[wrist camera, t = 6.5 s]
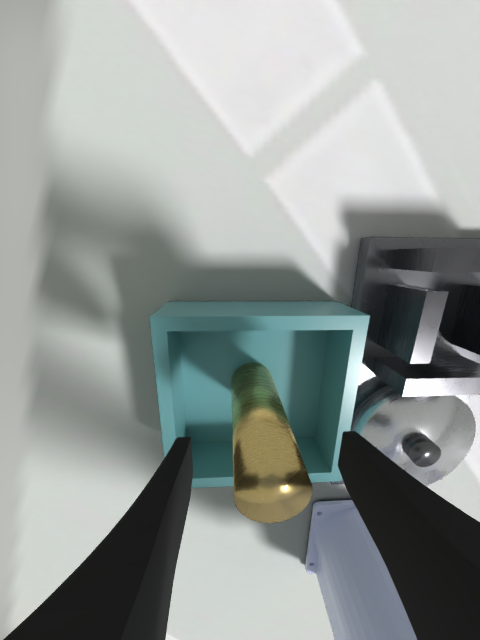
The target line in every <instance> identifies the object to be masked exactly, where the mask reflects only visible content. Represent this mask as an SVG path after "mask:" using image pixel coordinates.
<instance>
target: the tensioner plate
mask: <svg viewBox="0 0 480 640" xmlns="http://www.w3.org/2000/svg"><path fill="white" fill-rule="evenodd" d="M351 308H353V309H356V310H358V311H360V312H363V313H365V314H368V315H370V318H369V324H368V330H367V336H366V342H365V347H364V353H363V359H362V365H361V371H360V376H359V382H358V388H357V394H356V400H355V406H354V411H353V417H352V423H351V429H350V431H356V432H357V433H358V434H360V435H361V436H362V437H364V438H365V439H366V440H367V441H369V442H370V443H371V444H372V445H373V446H375V447H376V448H377V449H378V450H380V451H381V452H382V453H383V454H385V455H386V456H387V457H388V458H390V459H391V460H392V461H393V462H395V463H396V464H397V465H398V466H400V467H401V468H402V469H403V470H405V471H406V472H407V473H409V474H410V475H411V476H413V477H414V478H415V479H417V480H418V481H419V482H421V483H422V484H424V485H425V486H427V485H429V484H432V483H434V482H436V481H438V480H441V479H443V477H444V476H446V475H447V474H449V473H450V472H451V471H452V470H454V469H455V468H456V467H457V466H458V465H459V464H460V463H461V462H462V460H463V459H464V458H465V456H466V455H467V453H468V452H469V450H470V448H471V446H472V443H473V440H474V437H475V430H476V426H475V419H474V416H473V413H472V411H471V410H470V408H469V407H468V405H467V404H468V401H469V398H470V395H480V239H476V238H405V237H367V238H361V245H360V252H359V258H358V265H357V272H356V279H355V286H354V292H353V299H352V306H351ZM331 484H332V485H334V484H345V483H344V481H343V478H342V481H335V482H331Z"/></svg>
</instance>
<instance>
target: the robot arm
mask: <svg viewBox="0 0 480 640" xmlns="http://www.w3.org/2000/svg"><path fill="white" fill-rule="evenodd" d="M338 468H339V471H340V473H341V476H342V478H343V481H344V483H345V486H346V488H347V491H348V493H349V495H350V497H351V498H352V500H339V501H320V502H316V503H315V504H314V505H313V511H312V518H311V526H310V534H309V541H308V549H307V556H306V564H305V569H306V572H307V573H309V574H314V573H316V574H317V578H318V582H319V585H320V589H321V592H322V596H323V599H324V603H325V607H326V610H327V614H328V617H329V621H330V624H331V628H332V632H333V635H334V639H335V640H480V522H478V521H477V520H475V519H474V518H472V517H470V516H469V515H467V514H466V513H464V512H463V511H461V510H460V509H458V508H457V507H455V506H454V505H452V504H451V503H449V502H448V501H446V500H445V499H443V498H442V497H440V496H439V495H437V494H436V493H435V492H433V491H432V490H430V489H429V488H428V487H426V486H425V485H424V484H422V483H421V482H419V481H418V480H417V479H415V478H414V477H413V476H411V475H410V474H409V473H407V472H406V471H405V470H403V469H402V468H401V467H400V466H398V465H397V464H396V463H395V462H393V461H392V460H391V459H390V458H388V457H387V456H386V455H385V454H383V453H382V452H381V451H380V450H378V449H377V448H376V447H375V446H373V445H372V444H371V443H370V442H369V441H367V440H366V439H365V438H364V437H362V436H361V435H360V434H358V433H357V432H356V431H344V432H343V434H342V441H341V447H340V453H339V459H338ZM192 478H193V460H192V444H191V437H177V438H176V439H175V441H174V443H173V445H172V446H171V448H170V450H169V452H168V453H167V455H166V457H165V458H164V460H163V461H162V463H161V465H160V466H159V468H158V469H157V471H156V472H155V474H154V475H153V477H152V478H151V480H150V481H149V483H148V484H147V485H146V487H145V488H144V490H143V491H142V492H141V494H140V495H139V496H138V498H137V499H136V500H135V502H134V503H133V504H132V506H131V507H130V508H129V510H128V511H127V512H126V513H125V515H124V516H123V517H122V518H121V520H120V521H119V522H118V523H117V524H116V526H115V527H114V528H113V529H112V530H111V532H110V533H109V534H108V535H107V536H106V537H105V538H104V540H103V541H102V542H101V543H100V544H99V545H98V546H97V547H96V549H95V550H94V551H93V552H92V553H91V554H90V555H89V556H88V557H87V558H86V560H85V561H84V562H83V563H82V564H81V565H80V566H79V567H78V568H77V569H76V570H75V571H74V572H73V573H72V574H71V575H70V576H69V577H68V578H67V579H66V580H65V581H64V582H63V583H62V584H61V585H60V586H59V587H58V588H57V589H56V590H55V591H54V592H53V593H52V594H51V595H50V596H49V597H48V598H47V599H46V600H45V601H44V602H43V603H42V604H41V605H40V606H39V607H38V608H37V609H36V610H35V611H34V612H33V613H32V614H31V615H30V616H28V617H27V618H26V619H25V620H24V621H23V622H22V623H21V624H20V625H19V626H18V627H17V628H16V629H14V630H13V631H12V632H11V633H10V634H9V635H8V636H7V637H6V638H5V639H4V640H165V637H166V630H167V622H168V615H169V608H170V601H171V594H172V587H173V580H174V574H175V568H176V563H177V558H178V553H179V549H180V544H181V539H182V534H183V530H184V525H185V520H186V515H187V511H188V506H189V501H190V495H191V486H192Z"/></svg>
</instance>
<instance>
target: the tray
mask: <svg viewBox="0 0 480 640" xmlns="http://www.w3.org/2000/svg"><path fill="white" fill-rule="evenodd" d="M149 318H150V327H151V337H152V346H153V356H154V365H155V375H156V385H157V394H158V404H159V413H160V423H161V433H162V442H163V452H164V458H165V457H166V455H167V453H168V452H169V450H170V448H171V446H172V445H173V443H174V441H175V439H176V438H177V437H191V444H192V460H193V478H192V486H191V488H206V487H227V486H234V475H233V439H232V404H231V378H232V375H233V373H234V372H235V370H236V369H237V368H239V367H240V366H242V365H244V364H247V363H259V364H261V365H263V366H265V367H266V368H267V369H268V370H269V371H270V373H271V375H272V377H273V380H274V383H275V386H276V388H277V391H278V394H279V396H280V399H281V402H282V405H283V407H284V410H285V413H286V415H287V418H288V421H289V424H290V426H291V429H292V432H293V434H294V437H295V440H296V443H297V445H298V448H299V451H300V453H301V456H302V459H303V461H304V464H305V467H306V470H307V472H308V475H309V478H310V480H311V483H314V482H335V481H342V476H341V473H340V471H339V468H338V459H339V453H340V447H341V441H342V434H343V432H344V431H350V429H351V423H352V417H353V411H354V406H355V400H356V394H357V388H358V382H359V376H360V371H361V365H362V359H363V353H364V347H365V342H366V336H367V330H368V324H369V318H370V315H368V314H365V313H363V312H360V311H358V310H356V309H353V308H351V307H349V306H346V305H344V304H342V303H339V302H337V301H169V302H167V303H166V304H165V305H164V306H162V307H161V308H160V309H159V310H157V311H156V312H155V313H154V314H152V315H151V316H150V317H149Z"/></svg>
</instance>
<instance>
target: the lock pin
mask: <svg viewBox="0 0 480 640" xmlns="http://www.w3.org/2000/svg"><path fill="white" fill-rule="evenodd" d="M231 404H232V439H233V475H234V501H235V504H236V507H237V508H238V510H239V511H240V512H241V513H242V514H243V515H244V516H246V517H247V518H249V519H251V520H254V521H257V522H262V523H276V522H281V521H285V520H288V519H290V518H292V517H294V516H296V515H297V514H299V513H300V512H301V511H302V510H304V509H305V507H306V506H307V505H308V503H309V502H310V499H311V497H312V491H313V490H312V483H311V480H310V478H309V475H308V472H307V470H306V467H305V464H304V461H303V459H302V456H301V453H300V451H299V448H298V445H297V443H296V440H295V437H294V434H293V432H292V429H291V426H290V424H289V421H288V418H287V415H286V413H285V410H284V407H283V405H282V402H281V399H280V396H279V394H278V391H277V388H276V386H275V383H274V380H273V377H272V375H271V373H270V371H269V370H268V369H267V368H266V367H265V366H263V365H261V364H259V363H247V364H244V365H242V366H240V367H239V368H237V369H236V370H235V372H234V373H233V375H232V378H231Z"/></svg>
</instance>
